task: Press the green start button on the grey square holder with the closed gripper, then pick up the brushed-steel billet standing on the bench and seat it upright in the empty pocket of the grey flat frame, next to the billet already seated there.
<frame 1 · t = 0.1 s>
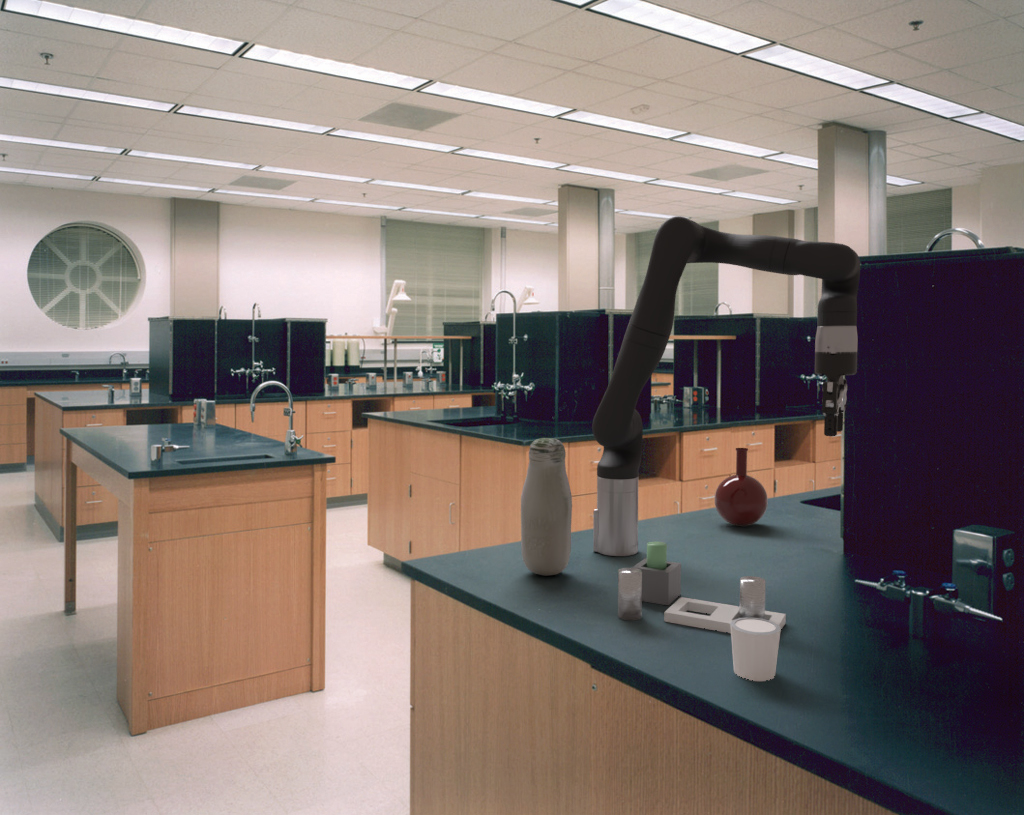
hand: (833, 433, 151), 29 cm above the counter, tool pointing down, fingers open, 8 cm apart
seated billet: (751, 627, 129), resting in grey flat frame
round-bottom flask: (740, 526, 200), on the counter
start button: (656, 559, 144), point 7 cm above the counter, slide at 0.0 cm
grey square holder: (656, 596, 144), on the counter
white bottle: (546, 574, 159), on the counter
grey flat frame: (724, 622, 131), on the counter
billet: (629, 616, 134), on the counter
white cup: (754, 674, 111), on the counter
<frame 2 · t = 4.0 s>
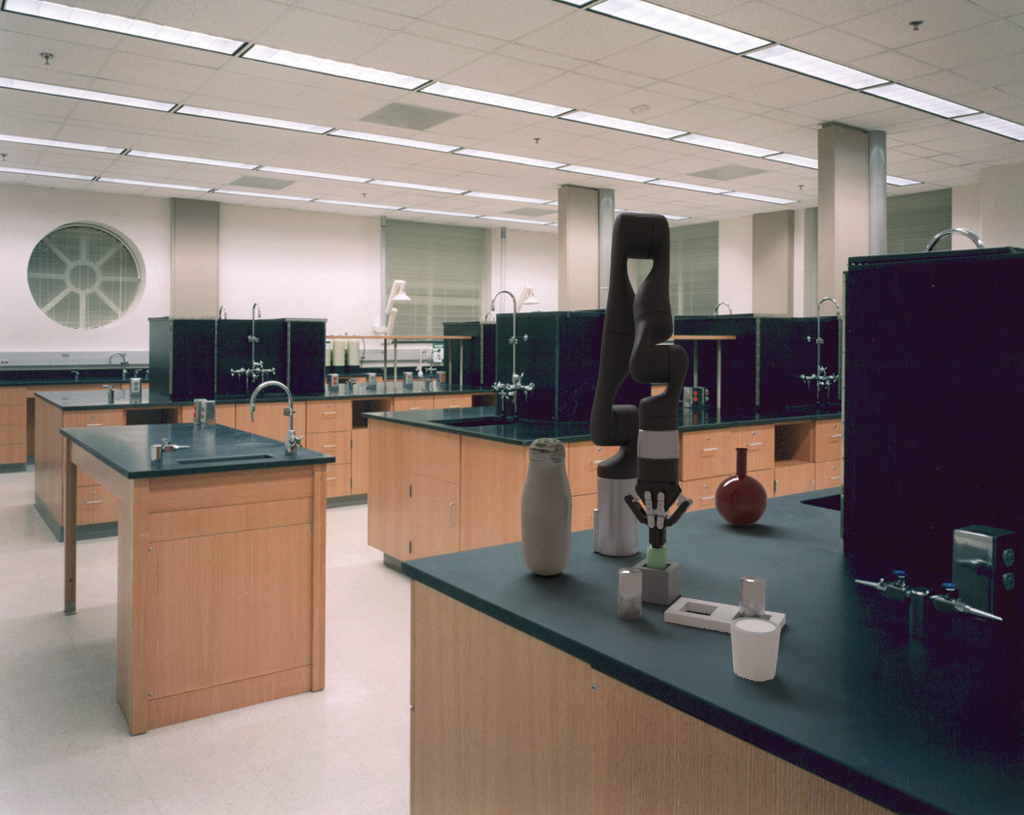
hand: (657, 547, 143), 9 cm above the counter, tool pointing down, fingers closed
start button: (656, 563, 144), point 6 cm above the counter, slide at 0.6 cm, touching gripper
everything else where it was.
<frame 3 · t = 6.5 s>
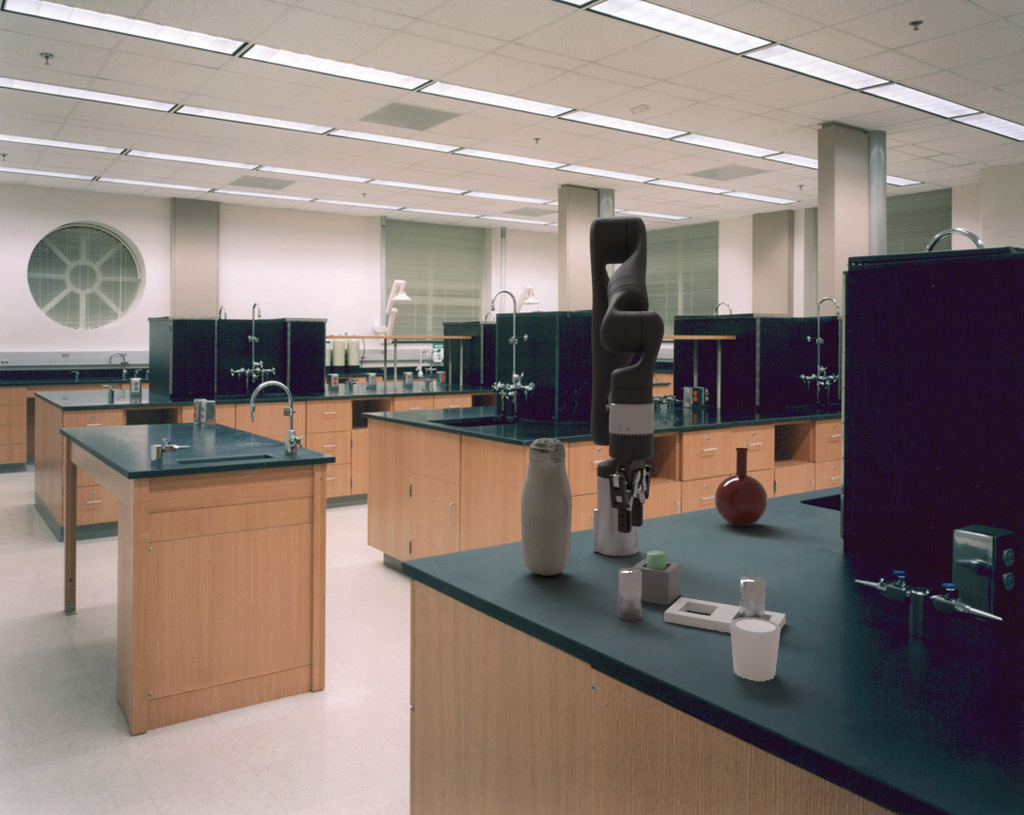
hand: (630, 528, 133), 15 cm above the counter, tool pointing down, fingers open, 4 cm apart
start button: (656, 569, 144), point 5 cm above the counter, slide at 1.7 cm
everything else where it was.
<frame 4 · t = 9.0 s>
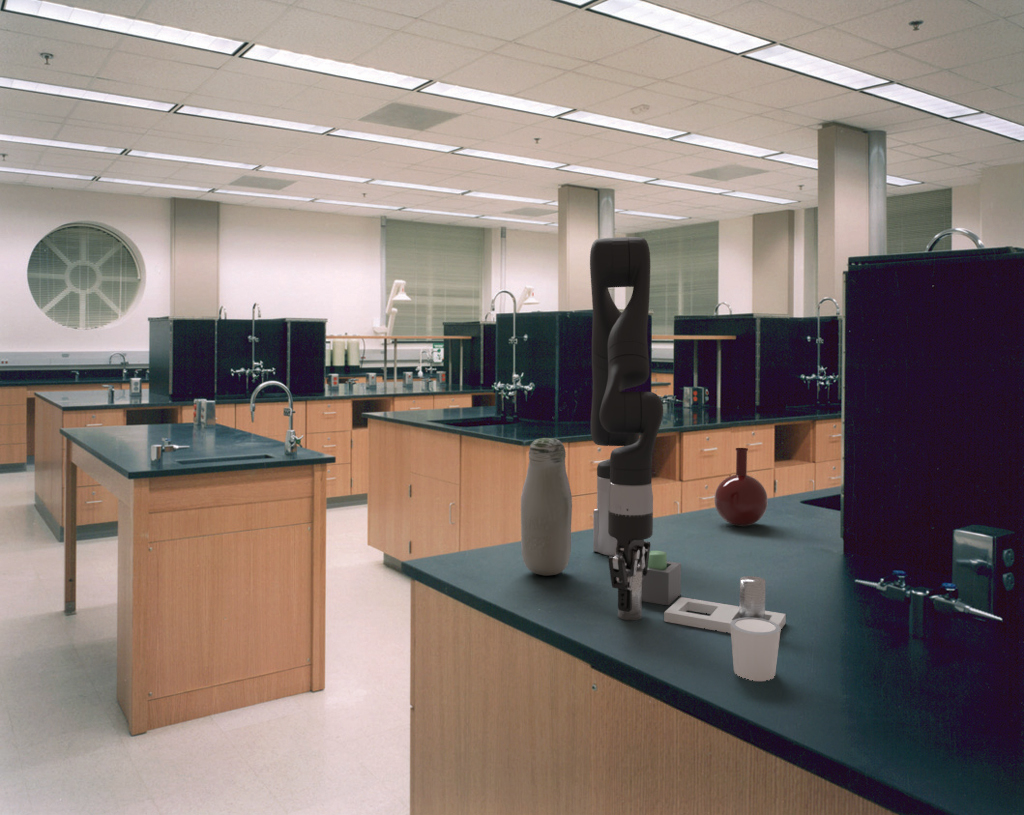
hand: (629, 606, 134), 2 cm above the counter, tool pointing down, fingers closed on billet, 4 cm apart
billet: (629, 616, 134), on the counter, touching gripper
everything else where it was.
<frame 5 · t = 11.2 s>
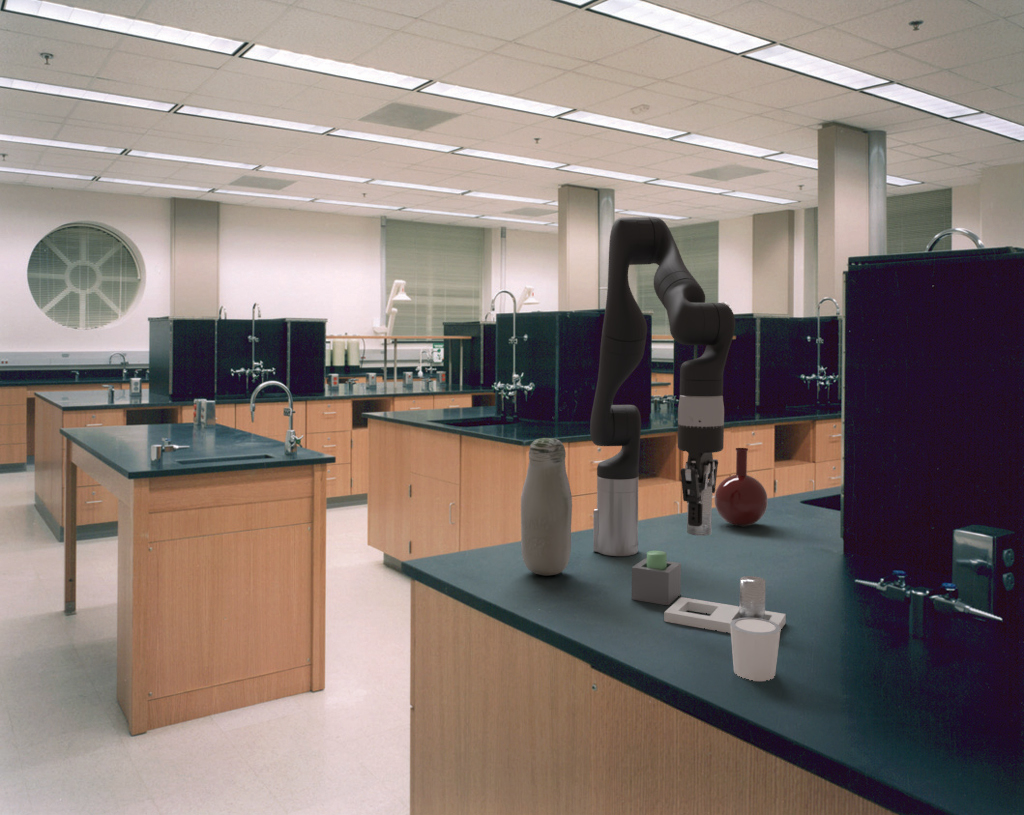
hand: (699, 522, 132), 17 cm above the counter, tool pointing down, fingers closed on billet, 4 cm apart
billet: (699, 532, 132), point 15 cm above the counter, touching gripper
everything else where it was.
when the fingers open (3 cm above the counter, at t = 13.9 s): billet drops 1 cm, resting in grey flat frame.
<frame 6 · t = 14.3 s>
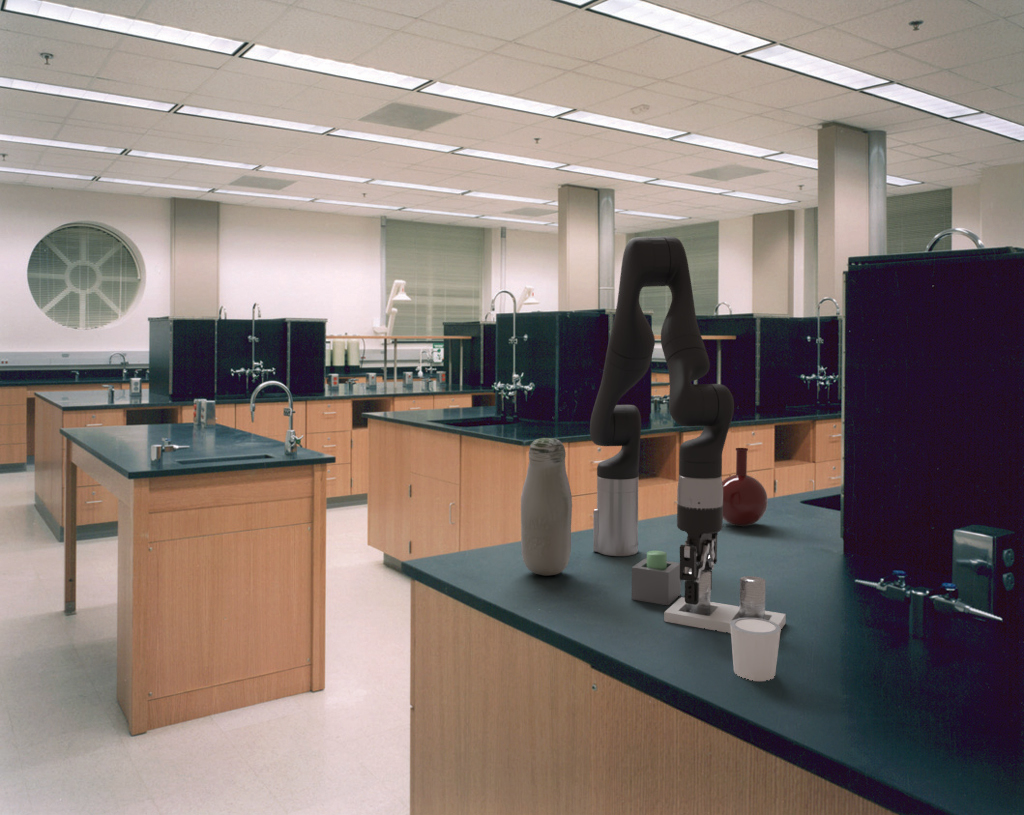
hand: (698, 596, 133), 4 cm above the counter, tool pointing down, fingers open, 7 cm apart
billet: (698, 617, 133), resting in grey flat frame
everything else where it was.
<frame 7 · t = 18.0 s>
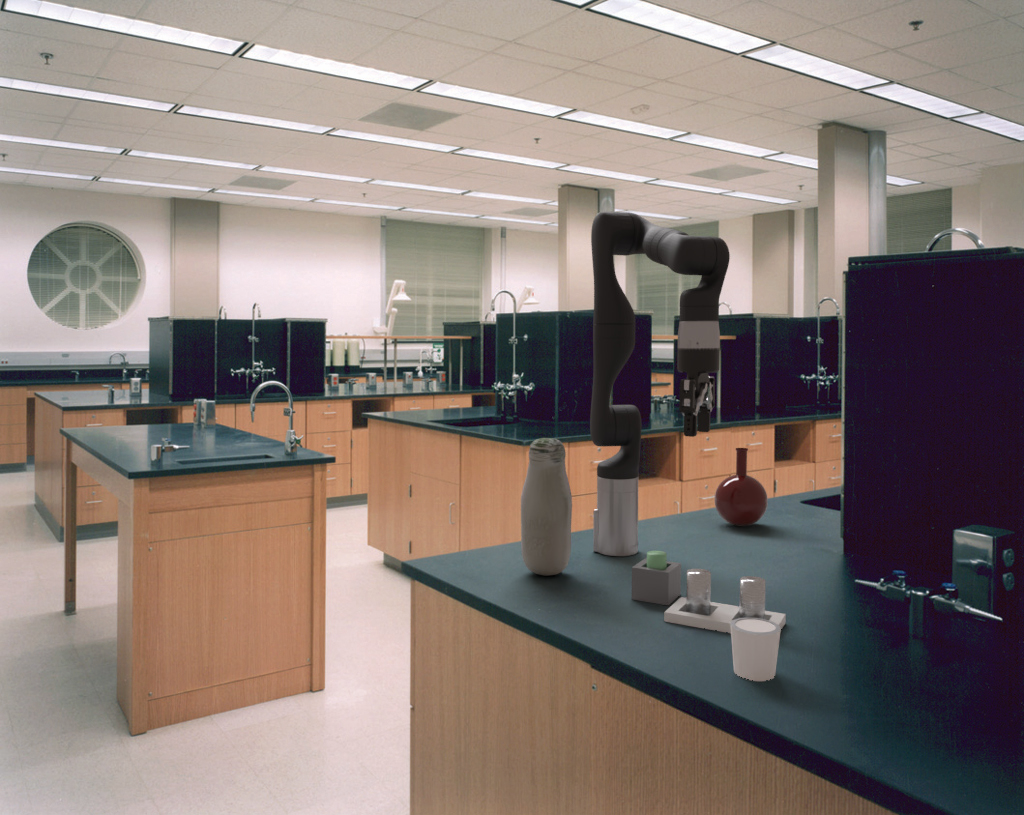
hand: (697, 434, 144), 30 cm above the counter, tool pointing down, fingers open, 8 cm apart
nothing on the counter moved.
at the end: billet 0.1 cm from the target spot on the grey flat frame, point 0.0 cm above the grey flat frame's base; billet tilted 0°; start button slide at 1.7 cm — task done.
